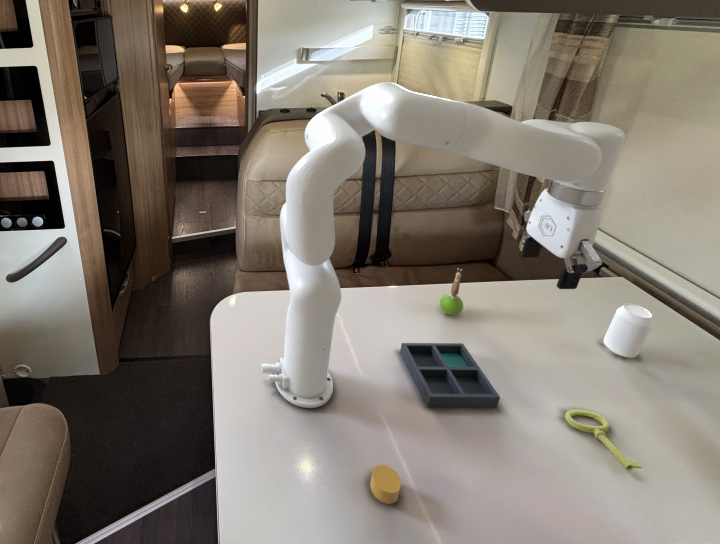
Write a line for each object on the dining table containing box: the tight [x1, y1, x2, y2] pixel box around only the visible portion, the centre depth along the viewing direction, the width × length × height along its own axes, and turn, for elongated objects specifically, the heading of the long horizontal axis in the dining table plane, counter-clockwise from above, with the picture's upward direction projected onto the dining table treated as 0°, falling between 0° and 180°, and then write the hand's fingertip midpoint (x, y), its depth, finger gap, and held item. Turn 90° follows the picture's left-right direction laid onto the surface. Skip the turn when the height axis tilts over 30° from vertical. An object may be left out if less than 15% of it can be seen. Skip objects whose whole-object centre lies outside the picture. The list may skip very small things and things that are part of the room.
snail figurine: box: [439, 267, 464, 316], centre depth 113 cm, size 5×6×12 cm
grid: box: [399, 342, 501, 409], centre depth 95 cm, size 14×14×3 cm
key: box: [564, 408, 642, 471], centre depth 82 cm, size 7×12×2 cm, turn 16°
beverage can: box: [603, 302, 654, 359], centre depth 100 cm, size 6×6×12 cm
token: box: [369, 464, 402, 505], centre depth 74 cm, size 5×5×3 cm
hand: (546, 271), depth 82 cm, fingers open, 9 cm apart
